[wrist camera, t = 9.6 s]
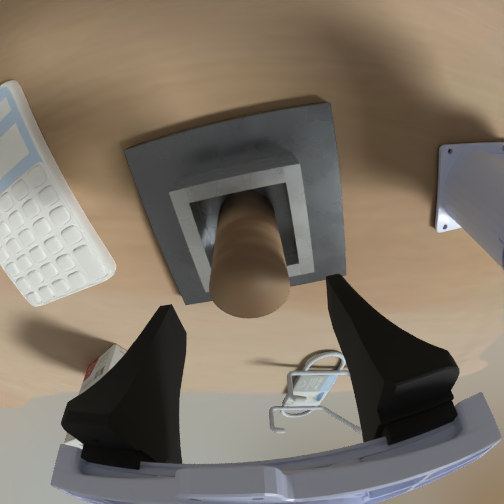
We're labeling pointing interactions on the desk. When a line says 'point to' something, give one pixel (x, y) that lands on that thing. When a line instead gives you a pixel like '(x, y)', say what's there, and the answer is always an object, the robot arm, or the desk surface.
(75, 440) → the ink box
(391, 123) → the desk surface
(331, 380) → the wall mount rack
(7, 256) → the calculator
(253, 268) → the wooden cylinder
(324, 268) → the docking plate
